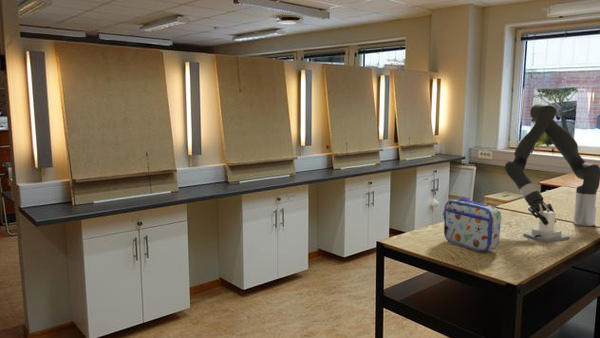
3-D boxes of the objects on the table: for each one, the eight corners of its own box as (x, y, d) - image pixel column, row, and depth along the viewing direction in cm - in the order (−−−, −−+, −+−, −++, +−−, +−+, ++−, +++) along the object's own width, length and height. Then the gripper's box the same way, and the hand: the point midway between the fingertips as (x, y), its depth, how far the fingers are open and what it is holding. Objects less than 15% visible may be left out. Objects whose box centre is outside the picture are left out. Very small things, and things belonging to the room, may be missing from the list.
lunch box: (437, 240, 222) (439, 195, 218) (452, 236, 227) (454, 193, 224) (487, 256, 199) (490, 206, 195) (502, 252, 204) (505, 203, 201)
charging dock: (546, 231, 234) (546, 224, 233) (569, 238, 222) (570, 231, 222) (523, 235, 228) (523, 228, 227) (546, 243, 216) (546, 235, 215)
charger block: (545, 230, 228) (547, 207, 226) (553, 232, 223) (555, 210, 222) (538, 231, 226) (540, 208, 224) (547, 233, 222) (549, 210, 220)
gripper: (525, 191, 226) (545, 221, 216) (546, 189, 231) (566, 218, 222) (516, 199, 231) (535, 229, 222) (536, 197, 237) (555, 225, 228)
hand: (550, 223), depth 222 cm, fingers closed on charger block, 4 cm apart
